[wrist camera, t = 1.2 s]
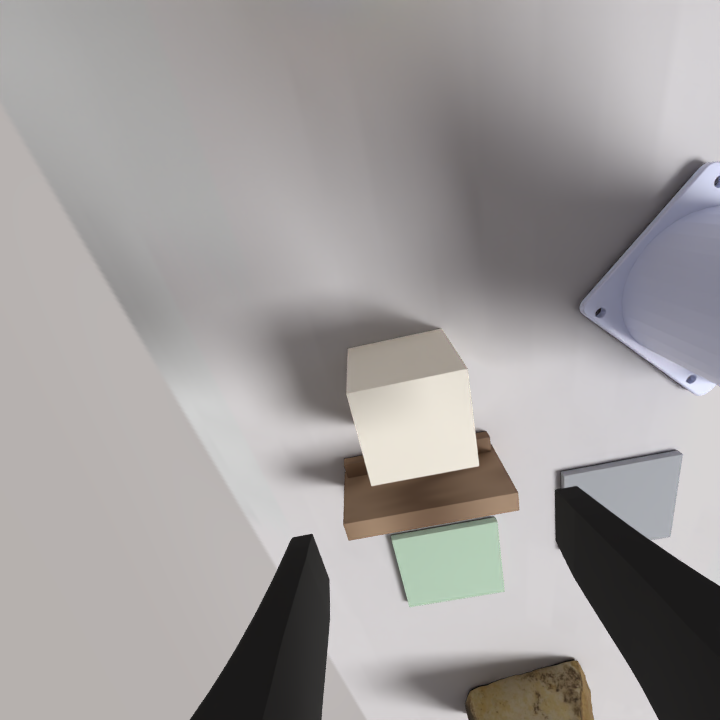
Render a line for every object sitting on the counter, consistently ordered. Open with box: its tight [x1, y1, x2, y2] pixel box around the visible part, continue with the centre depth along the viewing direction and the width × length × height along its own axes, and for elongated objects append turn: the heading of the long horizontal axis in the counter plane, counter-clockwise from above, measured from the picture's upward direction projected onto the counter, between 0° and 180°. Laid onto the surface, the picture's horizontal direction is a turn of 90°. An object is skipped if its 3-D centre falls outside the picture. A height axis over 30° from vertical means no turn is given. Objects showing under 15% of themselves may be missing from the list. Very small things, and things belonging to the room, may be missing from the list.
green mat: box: [391, 517, 505, 607], centre depth 26 cm, size 7×7×1 cm
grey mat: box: [561, 450, 683, 540], centre depth 24 cm, size 7×7×1 cm
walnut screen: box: [343, 431, 519, 540], centre depth 21 cm, size 9×3×4 cm, turn 103°
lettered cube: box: [346, 329, 479, 486], centre depth 19 cm, size 5×5×5 cm
